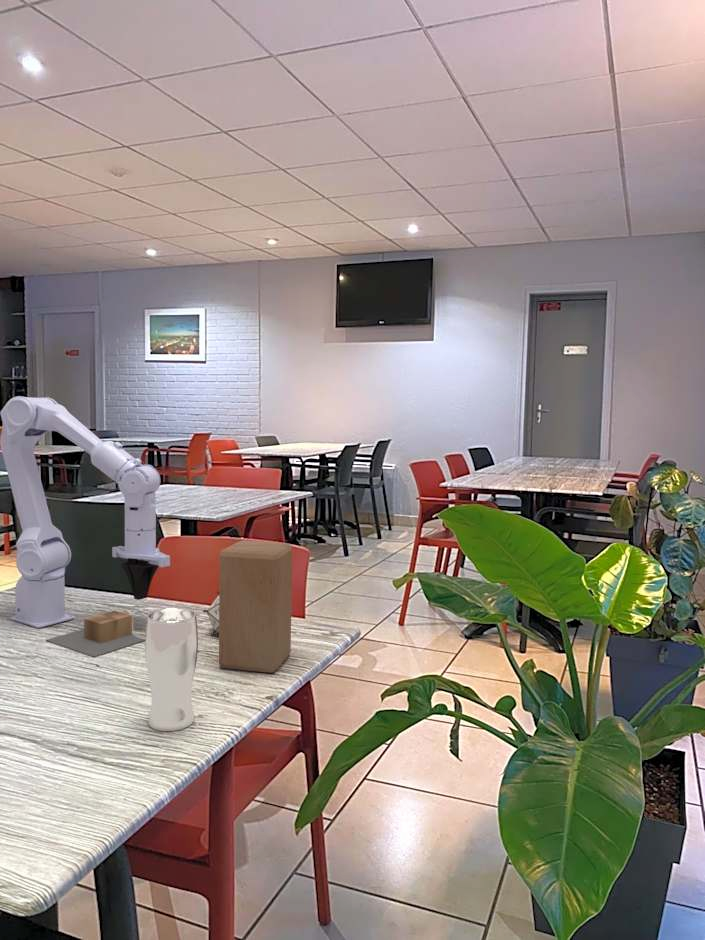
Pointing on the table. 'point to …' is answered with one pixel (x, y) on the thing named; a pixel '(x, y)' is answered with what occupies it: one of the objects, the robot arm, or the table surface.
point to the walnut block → (108, 626)
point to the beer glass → (171, 666)
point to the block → (255, 605)
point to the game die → (214, 614)
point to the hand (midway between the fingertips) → (140, 598)
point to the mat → (93, 643)
